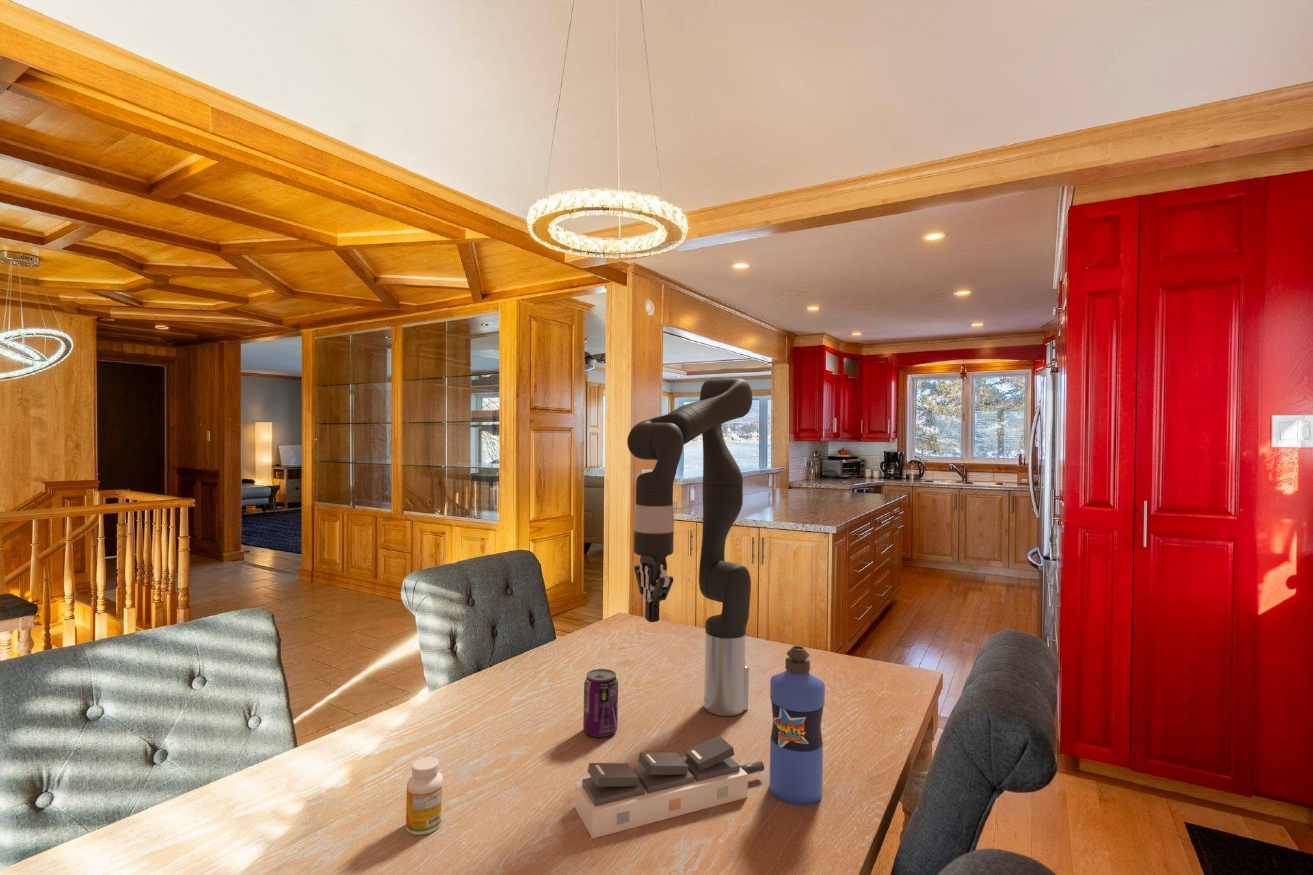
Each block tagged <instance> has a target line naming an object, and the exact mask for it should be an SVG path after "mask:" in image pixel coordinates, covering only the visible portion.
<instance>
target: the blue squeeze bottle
mask: <svg viewBox="0 0 1313 875" xmlns="http://www.w3.org/2000/svg"><path fill="white" fill-rule="evenodd" d="M786 655H787V657H786V658H785V666H784V667H785V671H783V672H779V673H777V674H774V675H772V676H771V677H770V679H769V681H770V684H769V688H770V692H769V698H770V702H771V712H772V713H771V714H772V728H771V734H770V741H769V742H770V745H769V747H770V748H769V785H768V786H769V792H770V793H771V795H772V796H773V797H775V798H776V799H777V800H779V801H781V802H783V803H786V804H789V803H790V804H789V805H793V806H801V805H804V806H810V805H809V804H812V805H814V804H816V803H815V802H817V801H818V802H820V800H822V798H823V770H824V769H823V767H824V766H823V761H824V760H823V758H824V756H823V755H824V754H823V752H824V742H823V737H822V736H823V735H822V720H823V713H824V706H825V704H826V703H825V702H826V700H825V699H826V698H825V697H826V684H825V682H824V681H823V680H822V679H821V678H819V677H817V676H815V675H813V674H812V673H810V671H811V660H810V659H809V658H810V653H808V651H806V649H805V648H804V647H803V646H799V645H794V646H792V647H791V648H790V649H789V650H788V651H787V652H786ZM821 797H822V798H821ZM818 802H817V803H818ZM813 803H814V804H813Z"/></svg>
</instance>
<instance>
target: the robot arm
mask: <svg viewBox="0 0 1313 875" xmlns="http://www.w3.org/2000/svg"><path fill="white" fill-rule="evenodd" d="M752 405H753V390H752V388H751V386H750V384H749V382H748V381H747V380H745V379H743V378H737V377H736V378H734V377H732V378H712V379H706V380H705V381H704V382H703V384H702V386H701V387H700V392H699V400H698V401H693V402H689V403H687V404H683V405H682V406H679V407H677V408H675V409H673V410H672V411H670V412H668V413H667V414H663V415H659V416H656V417H652V418H649V419H648V418H647V419H645V420H642V421H640V422H638V423H637V424H635V425H634V426H633V427H632V428H631V429H630V431H629V434H628V436H627V439H626V440H627V441H626V442H627V443H626V444H627V447H628V451H629V452H630V454H631V455H632V456H633V457H635V458H637V459H640V460H645V461H646V460H647V461H649V460H650V461H656V464H655V466H654V468H653V469H652V471H649V472H642V473H640V474H639V475H638V476H637V477H636V482H635V509H634V515H633V553H634V554H636V555H637V556H640V558H639V565H634V574H635V578H636V582H637V586H638V590H639V594H640V595H643V600H644V601H645V604H644V611H645V612H644V618H645V620H646V621H647V622H649V623H657V622H659V621H660V604H661V603H660V602H662V601H666V599H667V597H668V595H669V593H670V590H671V588H672V586H673V583H674V576H672V575H670V576H669V575H668V573H667V571H668V563H667V557H668V556H671V555H673V553H674V539H675V538H674V534H675V533H674V529H675V526H674V525H675V524H674V523H675V515H674V505H673V504H674V502H673V501H674V483H675V479H676V474H677V470H678V467H679V463H680V460H681V457H682V454H683V449H684V445H686V444H688V443H690V442H691V441H693V440H694V439H696V438H697V437H699V436H700V435H702V462H703V463H702V536H701V550H700V558H699V559H700V560H699V570H698V586H699V590H700V593H701V595H702V596H703V597H704V598H705V599H708V600H711V601H715V602H718V603H722V607H721V613H720V614H716V615H715V614H714V615H712V616H710V617H708V618H706V621H705V631H704V632H705V634H704V635H705V636H704V640H705V641H704V686H703V688H704V693H703V708H704V709H705V710H706V711H707V712H708V713H711V714H713V715H716V716H723V717H731V716H733V717H734V716H737V715H740V714H742V713H743V712H744V711H746V710H749V689H750V688H749V687H750V686H749V685H750V682H749V681H750V679H749V678H750V675H749V674H750V672H749V671H750V668H749V667H748V666H747V665H746V650H747V648H746V644H747V641H746V640H747V638H746V637H747V636H746V634H747V625H748V622H749V619H750V603H751V595H752V594H751V590H752V581H751V574H750V571H749V569H748V568H747V567H746V566H745V565H743V564H740V563H734V562H730V561H729V562H728V561H726V559H725V550H726V549H725V547H726V541H727V540H726V539H727V537H728V535H729V532H730V530H731V528H732V527H733V525H734V524H735V523H736V521H737V518H738V516H739V515H740V512H741V510H742V507H743V502H744V500H743V499H744V498H743V497H744V496H743V495H744V494H743V492H744V490H743V489H744V488H743V487H744V484H743V483H744V478H743V474H742V471H741V469H740V467H739V465H738V463H737V462H736V460H735V458H734V456H733V455H732V453H731V452H730V450H729V447H728V446H727V444H726V441H725V438H724V433H723V427H722V424H725V423H727V422H730V421H733V420H738V419H741V418H743V417H745V416H746V415H747V414H749V412H750V410H751V409H752Z"/></svg>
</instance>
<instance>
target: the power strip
mask: <svg viewBox="0 0 1313 875" xmlns="http://www.w3.org/2000/svg"><path fill="white" fill-rule="evenodd" d="M680 758H681V759H682V760H683V761H684V762H685V763H686V764H687V765H688V766H689V767H688V772H687V775H650V774H649V773H648V772H647V771H646V769H645V768H644V767H643V766H642V765H641V766H635V767H632V769H633V770H634V771H635V773H636V774H637V775H638V777H639V781H638V786H604V787H597V785H596V784H595V782H594V781H593V779H592V778H591V777H588V778H587V777H586V778H583V779H582V780H580V781H576V782H574V809H575V810H576V813H577V814H578V815H579V817H580V819H581V821H582V824H583V825H584V827H585V828H586V830H587V832H588V833H589V835H590V837H591V839H597V838H600V837H604V836H608V835H612V834H614V833H619V832H623V831H626V830H630V829H634V828H638V827H641V826H646V825H649V824H653V823H655V822H660V821H664V820H667V819H671V818H675V817H679V816H683V815H686V814H690V813H694V812H698V811H701V810H704V809H705V810H707V809H709V807H710V808H713V807H716V806H720V805H724V804H729V803H731V802H735V801H736V802H737V801H740V800H744V799H748V796H749V795H748V793H749V792H748V791H749V790H748V788H749V786H748V785H749V775H753V774H755V773H756V774H757V773H760V772H763V771H765V765H764V762H763V761H762V760H760V761H756V762H751V763H748V764H744V765H740V764H739V763H738V762H737V761H735V759H733V758H732V757H729V758H727V759H725V760H723V761H721V762H719V763H717V764H715V765H713V766H711V767H708V768H706V769H704V770H702V771H699V770H698V769H697V768H696V767H695V766H694V765H693V764H692V763H691V762H690V761H689V760H688V759H687V758H686V755H685V756H682V757H681V756H680Z"/></svg>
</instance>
